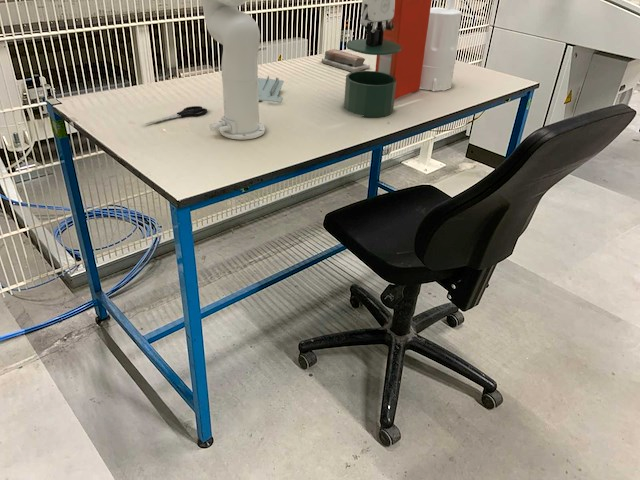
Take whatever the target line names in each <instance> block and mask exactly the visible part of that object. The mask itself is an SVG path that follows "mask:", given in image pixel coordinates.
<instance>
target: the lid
mask: <svg viewBox="0 0 640 480" xmlns="http://www.w3.org/2000/svg"><path fill="white" fill-rule="evenodd" d="M375 33H376V40H375V46H374V47H371V46H368V45H366V38H360V39H359V38H358V39H352V40H349V41H347V42H346V45H345V47H346V48H347V49H348V50H349V51H353V52H356V53H359V54H362V55H368V56H369V55H370V56H377V55H387V54H394V53H398V52H400V51H401V48H402V47H401V46H400V45H399V44H397V43H394V42H391V41H386V40H383V44H382V45H378V43H379V33H380V29H376V27H375Z"/></svg>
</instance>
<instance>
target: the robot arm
mask: <svg viewBox="0 0 640 480" xmlns="http://www.w3.org/2000/svg"><path fill="white" fill-rule="evenodd" d="M247 1H248V0H201V6H202V12H203V17H204V22H205V25H206V29H207V32H208V34H209V35H210V37H211V38H212V39H213V40H214V41H216V42H217V43H219V44H220V45H222V55H221V64H220V65H221V67H220V68H221V69H220V70H221V80H222V97H223V115H224V116H223V115H222V116H221V117H220V120H219V121H218V122H214V123H211V124H209V130H210V131H211V132H215V131H219V133H220V134H221V135H222V136H223V137H225V138H227V139H232V140H240V141H243V140H252V139H256V138H259V137H262V136H263V135H264V134H265V132H266V127H265V125H264V124H263V123H261V122H260V106H259V105H260V104H259V102H260V101H259V98H258V78H259V67H258V66H259V64H258V63H259V62H258V61H259V51H260V43H261V33H260V32H261V31H260V28H259V25H258V23H257V22H256V20H255V19H254V18H253V17H252V16H251V15H249V14H248V13H246V12H244V11H241V10H239V8H238V7H241V6H242V5H244V4H245V3H246V2H247ZM394 10H395V0H361V9H360V11H361V12H360V17H361V18H360V21H359V24H360V25H361V26H363V27H364V30H365V32H366V37H365V39H366V45H368V46H371V47H374V46H375V40H376V33H375V28H376V29H380V33H379V43H378V45H382V44H383V34H384V31H385V29H386V25H387V24H388V22H390V21H391V20H392V18H393V17H394ZM380 21H381V22H380Z"/></svg>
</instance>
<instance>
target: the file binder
mask: <svg viewBox="0 0 640 480" xmlns="http://www.w3.org/2000/svg"><path fill="white" fill-rule="evenodd" d="M432 1H433V0H395V10H394V17H393V18H392V20H391V21H390V22H388V24H387V25H386V29H385V31H384V34H383V40H386V41H391V42H394V43H397V44H399V45H400V46H401V47H402V48H401V51H400V52H398V53H394V54H387V55H376V60H375V69H374V71H377V72H383V73H386V74H389V75H392V76H393V77H395V78H396V81H397V82H396V90H395V98H394V100H396V99H398V98H401V97H404V96H406V95H409V94H414V93H416V92H418V91H420V81H421V73H422V66H423V59H424V52H425V44H426V37H427V30H428V23H429V16H430V8H432ZM380 22H381V21H380Z"/></svg>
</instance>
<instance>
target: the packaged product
mask: <svg viewBox="0 0 640 480" xmlns="http://www.w3.org/2000/svg"><path fill="white" fill-rule="evenodd" d="M365 61H366V58H364V57H362V56H359V55H356V54H352V53H349V52H346V51H343V50H340V49H336V48H332V49H329V50H328V49H327V50H326V51H324V58H321V63H322V64H326V65H329V66H331V67H333V68H337V69H342V70H345V71H349V72H350V73H352V72H356V71H364V70H366V69H367V70H368V69H370V68H371V65H370V64H366V63H365Z"/></svg>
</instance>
